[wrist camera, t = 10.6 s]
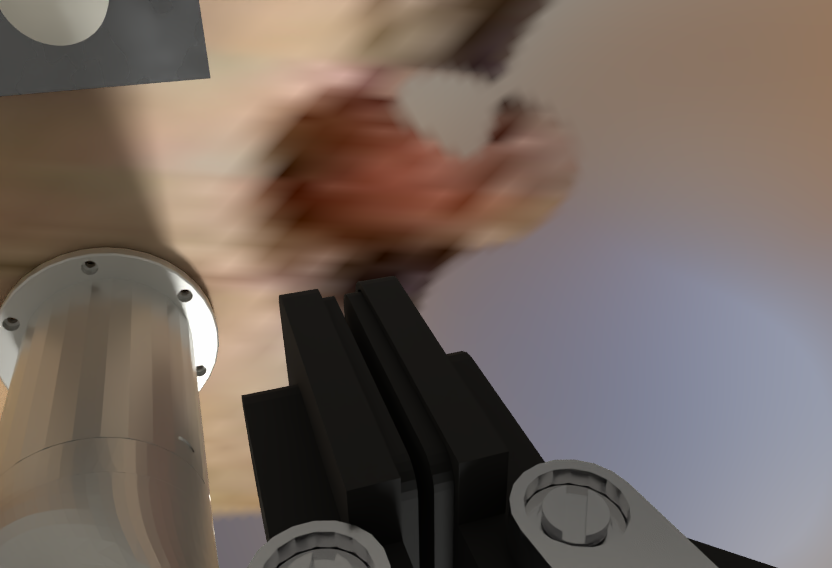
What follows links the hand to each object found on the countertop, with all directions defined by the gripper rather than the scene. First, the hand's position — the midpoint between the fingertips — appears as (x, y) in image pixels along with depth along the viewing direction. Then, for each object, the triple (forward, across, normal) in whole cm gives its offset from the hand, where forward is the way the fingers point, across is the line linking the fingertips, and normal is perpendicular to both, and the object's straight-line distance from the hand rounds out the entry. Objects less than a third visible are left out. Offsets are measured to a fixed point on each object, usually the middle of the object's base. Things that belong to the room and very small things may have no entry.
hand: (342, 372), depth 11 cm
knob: (+31, +6, -2) cm, 32 cm away
